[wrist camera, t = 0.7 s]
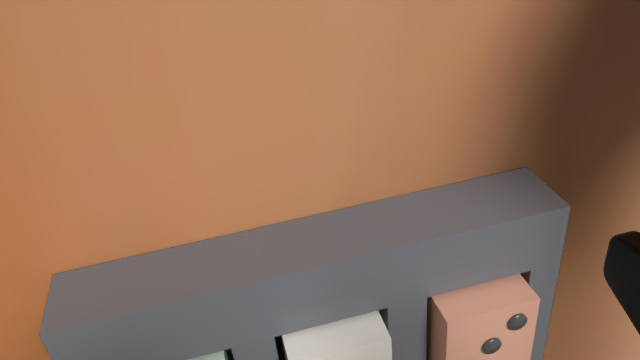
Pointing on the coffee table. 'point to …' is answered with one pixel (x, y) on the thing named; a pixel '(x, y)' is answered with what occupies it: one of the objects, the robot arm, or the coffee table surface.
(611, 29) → the coffee table surface
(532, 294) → the key three dots
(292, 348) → the key one dot
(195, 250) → the keypad
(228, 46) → the coffee table surface
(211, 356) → the key two dots
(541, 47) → the coffee table surface
